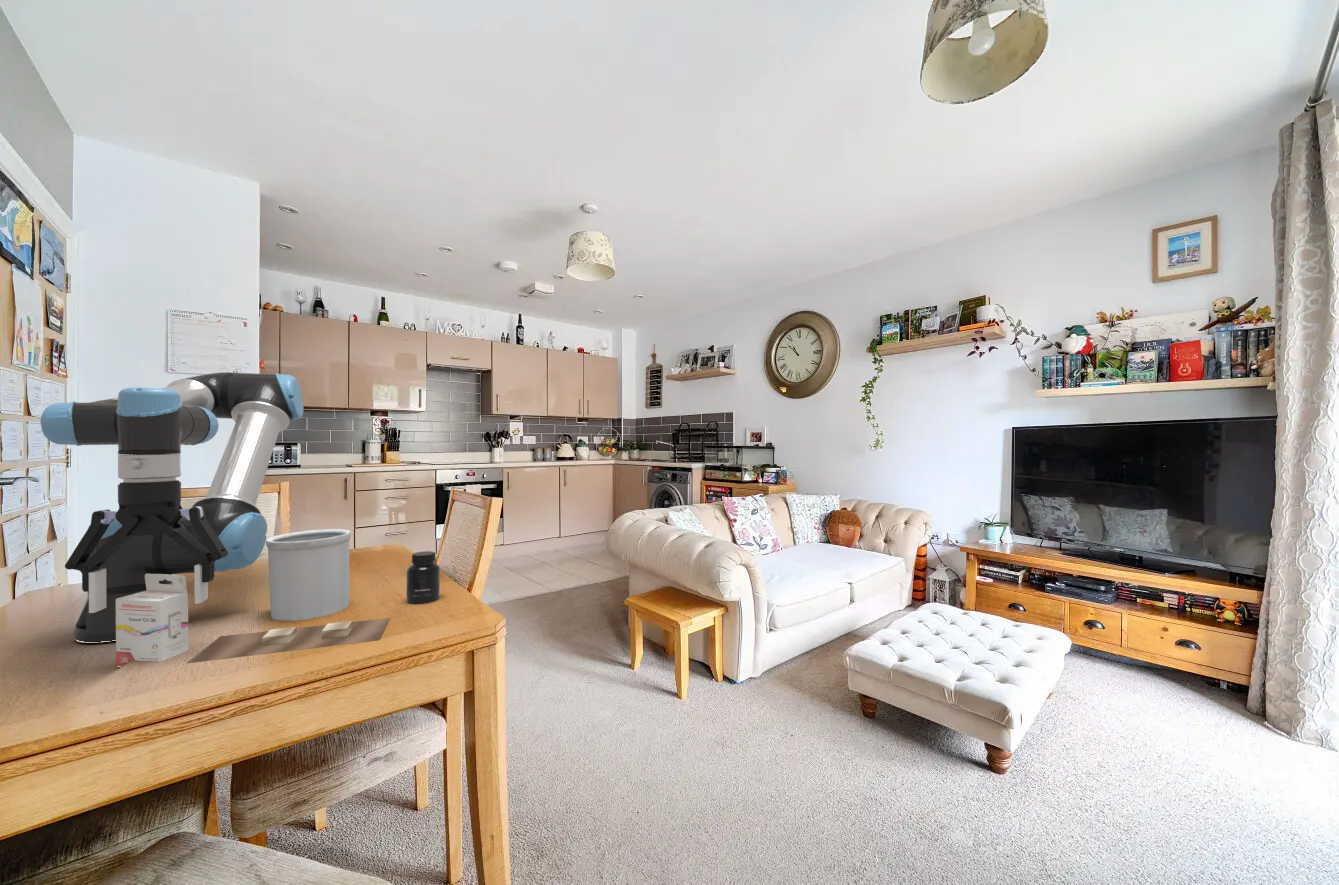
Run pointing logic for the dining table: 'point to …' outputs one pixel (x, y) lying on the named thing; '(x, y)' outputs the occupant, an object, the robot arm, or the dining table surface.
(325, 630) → the block
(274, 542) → the utensil holder
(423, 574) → the supplement bottle
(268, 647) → the walnut board
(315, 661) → the dining table surface
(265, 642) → the near offcut
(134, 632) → the ink cartridge box
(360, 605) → the dining table surface
